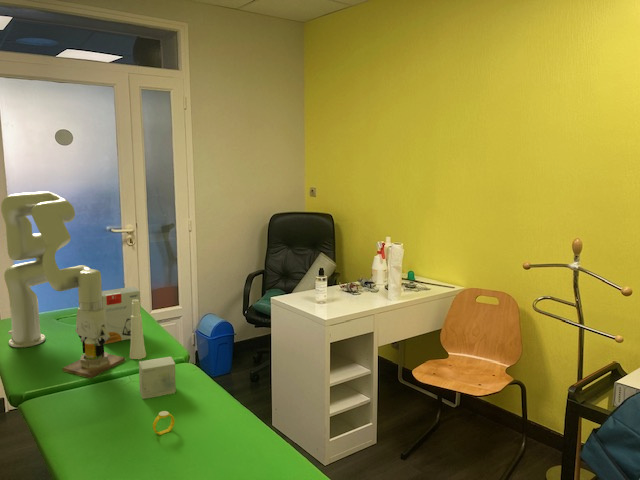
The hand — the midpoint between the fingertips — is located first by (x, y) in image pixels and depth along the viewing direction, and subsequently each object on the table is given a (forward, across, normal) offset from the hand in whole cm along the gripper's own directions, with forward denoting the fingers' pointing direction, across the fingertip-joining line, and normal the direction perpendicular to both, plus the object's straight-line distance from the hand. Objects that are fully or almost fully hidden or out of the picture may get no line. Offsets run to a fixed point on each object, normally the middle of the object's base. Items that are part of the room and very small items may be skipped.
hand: (93, 353), depth 187 cm
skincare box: (+5, +33, -6) cm, 34 cm away
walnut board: (+5, 0, 0) cm, 5 cm away
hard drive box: (+5, -11, +24) cm, 27 cm away
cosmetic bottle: (+5, +8, +13) cm, 16 cm away
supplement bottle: (+2, 0, 0) cm, 2 cm away
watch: (+5, +50, -24) cm, 56 cm away
